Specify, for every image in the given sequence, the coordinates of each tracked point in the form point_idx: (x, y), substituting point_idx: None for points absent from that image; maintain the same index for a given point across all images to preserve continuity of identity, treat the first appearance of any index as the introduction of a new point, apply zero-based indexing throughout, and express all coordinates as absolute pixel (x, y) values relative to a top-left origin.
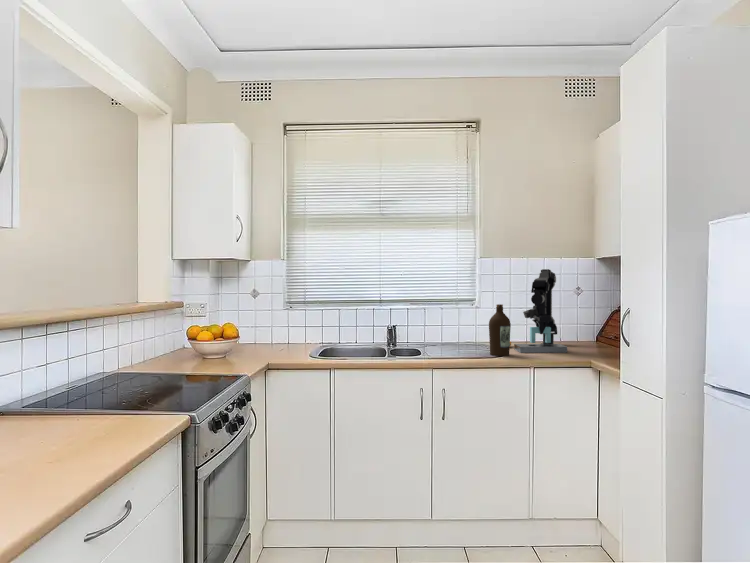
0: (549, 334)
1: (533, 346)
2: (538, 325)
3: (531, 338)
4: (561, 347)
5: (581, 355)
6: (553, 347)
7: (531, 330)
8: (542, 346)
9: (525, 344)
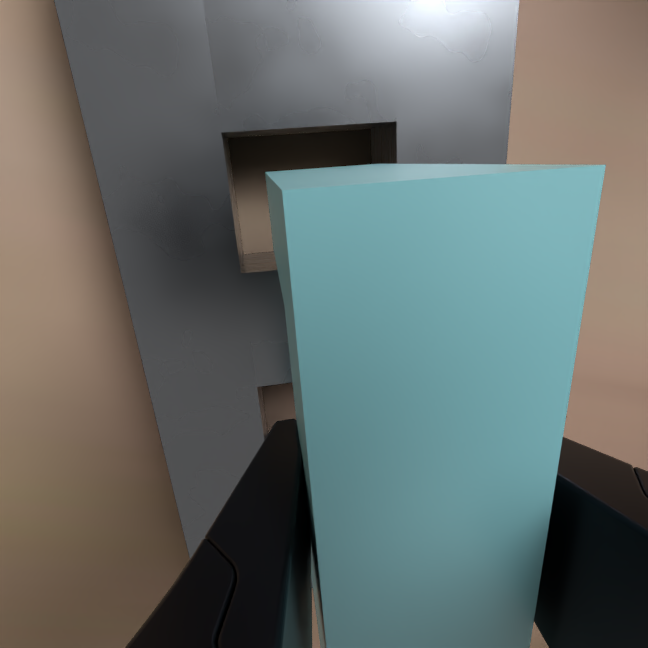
0: (312, 583)
1: (158, 182)
2: (611, 581)
3: (276, 173)
4: (191, 548)
5: (20, 637)
6: (171, 465)
7: (289, 180)
8: (182, 333)
9: (433, 93)
